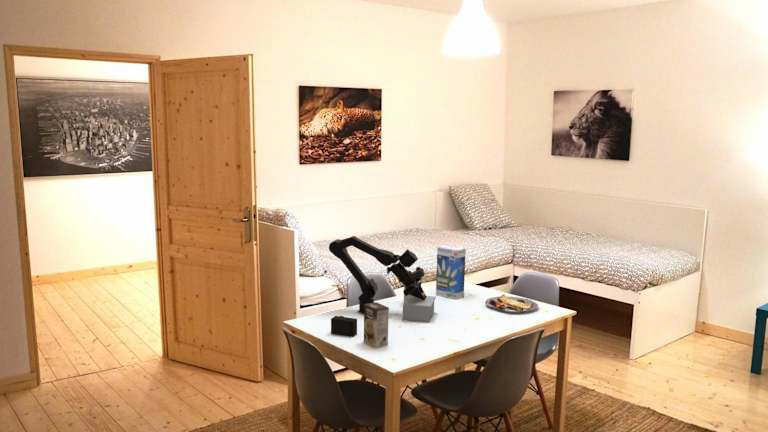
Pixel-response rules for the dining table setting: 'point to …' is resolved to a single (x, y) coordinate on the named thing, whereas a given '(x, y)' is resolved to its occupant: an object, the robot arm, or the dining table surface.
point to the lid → (420, 301)
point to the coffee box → (376, 324)
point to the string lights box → (450, 271)
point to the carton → (417, 313)
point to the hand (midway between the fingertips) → (425, 298)
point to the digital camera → (344, 326)
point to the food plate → (511, 304)
